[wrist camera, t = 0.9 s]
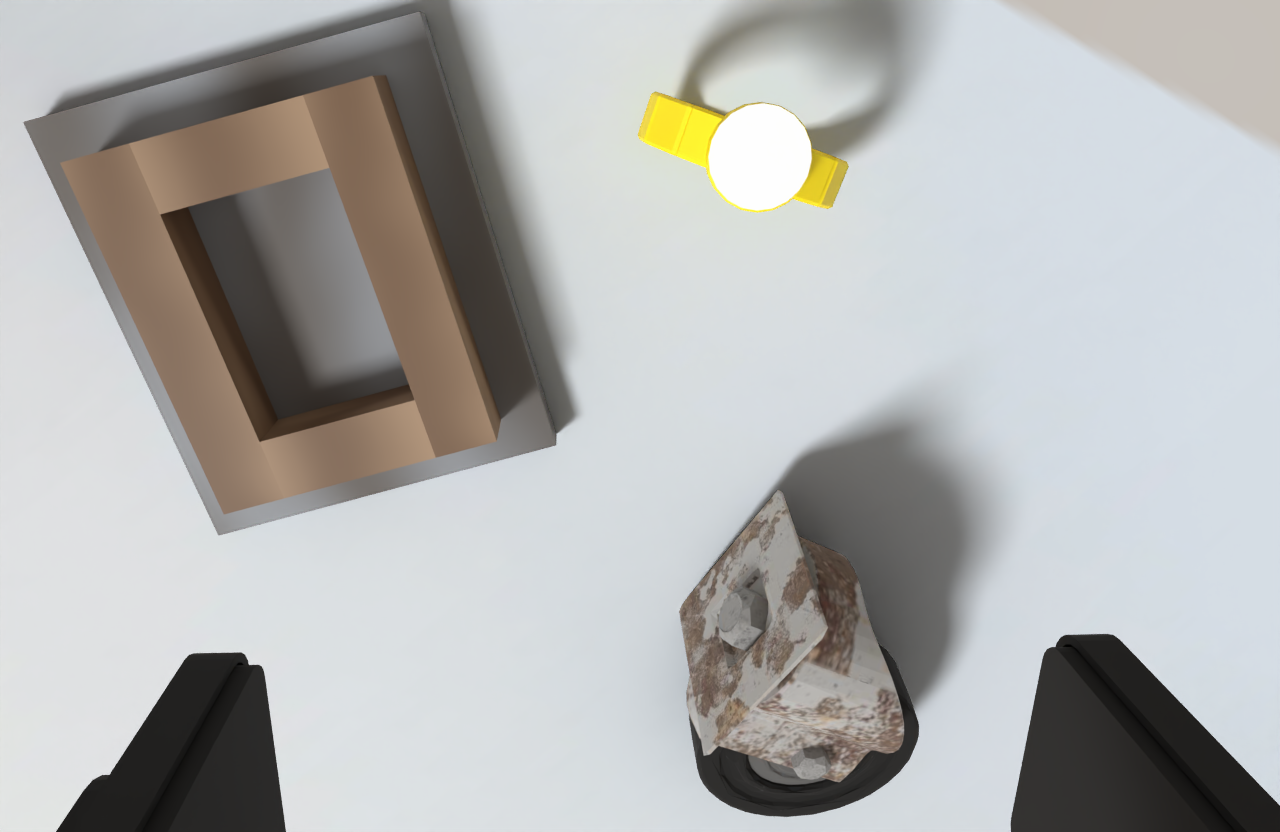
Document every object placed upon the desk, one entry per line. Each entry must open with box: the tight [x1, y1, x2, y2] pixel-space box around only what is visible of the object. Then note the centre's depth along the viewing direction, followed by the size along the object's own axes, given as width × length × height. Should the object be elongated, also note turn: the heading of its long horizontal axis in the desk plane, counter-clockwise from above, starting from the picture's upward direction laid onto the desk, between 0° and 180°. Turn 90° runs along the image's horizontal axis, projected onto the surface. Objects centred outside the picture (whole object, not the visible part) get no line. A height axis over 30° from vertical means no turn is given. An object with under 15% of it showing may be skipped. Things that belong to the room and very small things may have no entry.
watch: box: [638, 92, 848, 212], centre depth 27 cm, size 6×3×6 cm, turn 71°
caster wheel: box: [679, 490, 919, 817], centre depth 34 cm, size 7×11×10 cm
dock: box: [23, 11, 556, 535], centre depth 29 cm, size 12×14×3 cm
